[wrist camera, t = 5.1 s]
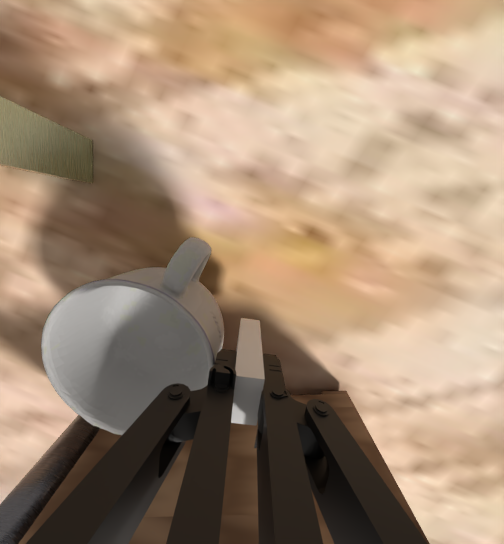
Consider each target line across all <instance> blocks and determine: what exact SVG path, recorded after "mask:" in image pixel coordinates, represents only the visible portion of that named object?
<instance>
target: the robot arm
mask: <svg viewBox="0 0 504 544" xmlns="http://www.w3.org/2000/svg"><path fill="white" fill-rule="evenodd" d="M257 420H258V429H257V434H256V440H255V446H254V448H257V486H258V530H259V544H323V540H322V535H321V531H320V526H319V522H318V517H317V513H316V508H315V504H314V499H313V495H312V492H313V494H314V497H315V499H316V501H317V504H318V506H319V509H320V511H321V513H322V516H323V518H324V520H325V523H326V525H327V528H328V530H329V532H330V535H331V537H332V539H333V542H334V544H428V543H427V542H426V540H425V539H424V538H423V536H422V535H421V533H420V532H419V530H418V529H417V528H416V526H415V525H414V523H413V522H412V520H411V519H410V518H409V516H408V515H407V513H406V512H405V510H404V509H403V508H402V506H401V505H400V503H399V502H398V501H397V499H396V498H395V496H394V495H393V493H392V492H391V491H390V489H389V488H388V486H387V485H386V483H385V482H384V481H383V479H382V478H381V476H380V475H379V473H378V472H377V471H376V469H375V468H374V466H373V465H372V463H371V462H370V461H369V459H368V458H367V456H366V455H365V454H364V452H363V451H362V449H361V448H360V446H359V445H358V444H357V442H356V441H355V439H354V438H353V436H352V435H351V434H350V432H349V431H348V429H347V428H346V426H345V425H344V424H343V422H342V421H341V419H340V418H339V416H338V415H337V414H336V412H335V411H334V409H333V408H332V407H331V406H330V405H329V404H328V403H326V402H324V401H322V400H319V399H312V400H309V401H308V402H307V405H306V404H303V403H301V402H298V401H296V400H294V399H293V398H291V395H290V393H289V391H288V390H287V389H286V388H285V384H284V379H283V374H282V369H281V364H280V360H279V359H278V358H277V356H276V355H268V354H263V353H262V341H261V329H260V320H253V319H246V318H241V321H240V328H239V335H238V342H237V349H236V351H232V350H224V349H221V350H220V351H219V352H218V353H217V355H216V360H215V363H214V366H213V367H211V369H210V370H209V376H208V385H207V386H206V387H204V388H202V389H199V390H194V391H190V389H189V387H188V386H186V385H184V384H179V383H176V384H171V385H169V386H167V387H165V388H164V389H163V390H162V391H161V392H160V393H159V395H158V396H157V397H156V398H155V399H154V400H153V401H152V402H151V403H150V405H149V406H148V407H147V408H146V409H145V410H144V411H143V412H142V414H141V415H140V416H139V417H138V418H137V419H136V420H135V421H134V423H133V424H132V425H131V426H130V427H129V428H128V429H127V430H126V432H125V433H124V434H123V435H122V436H121V437H120V438H119V439H118V440H117V442H116V443H115V444H114V445H113V446H112V447H111V448H110V449H109V451H108V452H107V453H106V454H105V455H104V456H103V457H102V458H101V460H100V461H99V462H98V463H97V464H96V465H95V466H94V467H93V469H92V470H91V471H90V472H89V473H88V474H87V475H86V476H85V477H84V479H83V480H82V481H81V482H80V483H79V484H78V485H77V486H76V488H75V489H74V490H73V491H72V492H71V493H70V494H69V495H68V497H67V498H66V499H65V500H64V501H63V502H62V503H61V504H60V506H59V507H58V508H57V509H56V510H55V511H54V512H53V513H52V515H51V516H50V517H49V518H48V519H47V520H46V521H45V522H44V523H43V525H42V526H41V527H40V528H39V529H38V530H37V531H36V532H35V534H34V535H33V536H32V537H31V538H30V539H29V540H28V541H27V543H26V544H128V543H129V542H130V540H131V538H132V536H133V535H134V533H135V531H136V529H137V528H138V526H139V524H140V522H141V520H142V519H143V517H144V515H145V513H146V512H147V510H148V508H149V506H150V505H151V503H152V501H153V499H154V498H155V496H156V494H157V492H158V491H159V489H160V487H161V485H162V483H163V482H164V480H165V478H166V476H167V475H168V473H169V471H170V469H171V468H172V466H173V464H174V462H175V461H176V459H177V457H178V455H179V454H180V452H181V450H182V448H183V446H184V445H185V442H186V441H188V440H193V443H192V446H191V450H190V454H189V458H188V462H187V466H186V469H185V473H184V477H183V481H182V485H181V488H180V492H179V496H178V500H177V504H176V508H175V511H174V515H173V519H172V523H171V527H170V530H169V534H168V538H167V542H166V544H219V537H220V527H221V517H222V507H223V497H224V487H225V477H226V467H227V457H228V447H229V437H230V427H231V423H237V424H246V425H255V426H256V425H257Z"/></svg>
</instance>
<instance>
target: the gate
mask: <svg viewBox="0 0 504 544" xmlns="http://www.w3.org/2000/svg"><path fill="white" fill-rule="evenodd" d="M291 398H293V399H294V400H296V401H298V402H301V403H303V404H306V405H307V402H308V401H309V400H312V399H319V400H322V401H324V402H326V403H328V404H329V405H330V406H331V407H332V408H333V409H334V411H335V412H336V414H337V415H338V416H339V418H340V419H341V421H342V422H343V424H344V425H345V426H346V428H347V429H348V431H349V432H350V434H351V435H352V436H353V438H354V439H355V441H356V442H357V444H358V445H359V446H360V448H361V449H362V451H363V452H364V454H365V455H366V456H367V458H368V459H369V461H370V462H371V463H372V465H373V466H374V468H375V469H376V471H377V472H378V473H379V475H380V476H381V478H382V479H383V481H384V482H385V483H386V485H387V486H388V488H389V489H390V491H391V492H392V493H393V495H394V496H395V498H396V499H397V501H398V502H399V503H400V505H401V506H402V508H403V509H404V510H405V512H406V513H407V515H408V516H409V518H410V519H411V520H412V522H413V523H414V525H415V526H416V528H417V529H418V530H419V532H420V533H421V535H422V536H423V538H424V539H425V540H426V542H427V543H428V544H429V542H428V540H427V538H426V536H425V534H424V533H423V531H422V529H421V527H420V525H419V523H418V522H417V520H416V518H415V516H414V514H413V512H412V511H411V509H410V507H409V505H408V503H407V501H406V500H405V498H404V496H403V494H402V492H401V490H400V489H399V487H398V485H397V483H396V481H395V479H394V478H393V476H392V474H391V472H390V470H389V468H388V467H387V465H386V463H385V461H384V459H383V457H382V456H381V454H380V452H379V450H378V448H377V446H376V445H375V443H374V441H373V439H372V437H371V435H370V434H369V432H368V430H367V428H366V426H365V424H364V423H363V421H362V419H361V417H360V415H359V413H358V412H357V410H356V408H355V406H354V404H353V402H352V401H351V399H350V397H349V395H348V393H347V391H322V394H321V395H291ZM257 429H258V420H257V425H256V426H255V425H246V424H237V423H231V427H230V437H229V447H228V457H227V467H226V477H225V487H224V497H223V507H222V517H221V527H220V537H219V544H259V530H258V486H257V448H254V446H255V440H256V434H257ZM121 436H122V435H118V434H114V433H111V432H109V431H107V430H104V429H102V428H101V429H100V430H99V432H98V433H97V434H96V436H95V437H94V439H93V440H92V441H91V443H90V444H89V446H88V447H87V448H86V450H85V451H84V453H83V454H82V455H81V457H80V458H79V460H78V461H77V462H76V464H75V465H74V467H73V468H72V469H71V471H70V472H69V474H68V475H67V476H66V478H65V479H64V481H63V482H62V483H61V485H60V486H59V488H58V489H57V490H56V492H55V493H54V495H53V496H52V497H51V499H50V500H49V502H48V503H47V504H46V506H45V507H44V509H43V510H42V511H41V513H40V514H39V516H38V517H37V518H36V520H35V521H34V523H33V524H32V526H31V527H30V528H29V530H28V531H27V533H26V534H25V535H24V537H23V538H22V540H21V541H20V542H19V544H26V543H27V541H28V540H29V539H30V538H31V537H32V536H33V535H34V534H35V532H36V531H37V530H38V529H39V528H40V527H41V526H42V525H43V523H44V522H45V521H46V520H47V519H48V518H49V517H50V516H51V515H52V513H53V512H54V511H55V510H56V509H57V508H58V507H59V506H60V504H61V503H62V502H63V501H64V500H65V499H66V498H67V497H68V495H69V494H70V493H71V492H72V491H73V490H74V489H75V488H76V486H77V485H78V484H79V483H80V482H81V481H82V480H83V479H84V477H85V476H86V475H87V474H88V473H89V472H90V471H91V470H92V469H93V467H94V466H95V465H96V464H97V463H98V462H99V461H100V460H101V458H102V457H103V456H104V455H105V454H106V453H107V452H108V451H109V449H110V448H111V447H112V446H113V445H114V444H115V443H116V442H117V440H118V439H119V438H120V437H121ZM192 443H193V440H188V441H186V442H185V445H184V446H183V448H182V450H181V452H180V454H179V455H178V457H177V459H176V461H175V462H174V464H173V466H172V468H171V469H170V471H169V473H168V475H167V476H166V478H165V480H164V482H163V483H162V485H161V487H160V489H159V491H158V492H157V494H156V496H155V498H154V499H153V501H152V503H151V505H150V506H149V508H148V510H147V512H146V513H145V515H144V517H143V519H142V520H141V522H140V524H139V526H138V528H137V529H136V531H135V533H134V535H133V536H132V538H131V540H130V542H129V543H128V544H166V542H167V538H168V534H169V530H170V527H171V523H172V519H173V515H174V511H175V508H176V504H177V500H178V496H179V492H180V488H181V485H182V481H183V477H184V473H185V469H186V466H187V462H188V458H189V454H190V450H191V446H192ZM312 495H313V499H314V504H315V508H316V513H317V517H318V522H319V526H320V531H321V535H322V540H323V544H334V542H333V539H332V537H331V535H330V532H329V530H328V528H327V525H326V523H325V520H324V518H323V516H322V513H321V511H320V509H319V506H318V504H317V501H316V499H315V497H314V494H313V492H312Z"/></svg>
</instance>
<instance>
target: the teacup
mask: <svg viewBox="0 0 504 544" xmlns="http://www.w3.org/2000/svg"><path fill="white" fill-rule="evenodd" d="M210 255H211V247H210V246H209V245H208V244H207V243H206V242H205V241H203V240H201V239H199V238H195V237H191V238H188V239H187V240H185V241H184V243H183V244H182V245H181V246H180V247H179V248H178V250H177V251H176V253H175V254H174V255H173V257H172V258H171V260H170V262H169V264H168V266H167V268H163V267H149V268H141V269H137V270H133V271H129V272H126V273H122V274H119V275H116V276H113V277H110V278H108V279H103V280H97V281H92V282H90V283H87V284H84V285H82V286H80V287H78V288H76V289H74V290H72V291H71V292H69V293H68V294H67V295H66V296H65V297H63V298H62V299H61V300H60V301H59V302H58V303H57V304H56V305H55V306H54V308H53V309H52V311H51V312H50V314H49V316H48V318H47V320H46V322H45V325H44V328H43V333H42V341H41V350H42V360H43V364H44V367H45V371H46V373H47V376H48V378H49V380H50V382H51V384H52V386H53V387H54V389H55V391H56V392H57V393H58V395H59V396H60V397H61V398H62V400H63V401H64V402H65V403H66V404H67V405H68V406H69V407H70V408H72V410H73V411H74V412H75V413H77V414H78V415H80V416H81V417H83V418H84V419H85V420H86V421H87V422H89V423H90V424H91V425H93V426H97V427H99V428H102V429H104V430H107V431H109V432H111V433H114V434H118V435H123V434H124V433H125V432H126V430H127V429H128V428H129V427H130V426H131V425H132V424H133V423H134V421H135V420H136V419H137V418H138V417H139V416H140V415H141V414H142V412H143V411H144V410H145V409H146V408H147V407H148V406H149V405H150V403H151V402H152V401H153V400H154V399H155V398H156V397H157V396H158V395H159V393H160V392H161V391H162V390H163V389H164V388H165V387H167V386H169V385H171V384H176V383H179V384H184V385H186V386H188V387H189V389H190V391H194V390H199V389H202V388H204V387H206V386H207V385H208V376H209V370H210V369H211V367H213V366H214V363H215V360H216V355H217V353H218V352H219V351H220V350H221V349H222V346H223V340H224V324H223V318H222V314H221V310H220V308H219V306H218V304H217V302H216V300H215V298H214V297H213V295H212V294H211V293H210V291H209V290H208V289H207V288H206V287H205V286H204V285H203V284H201V283H200V282H199V278H200V276H201V273H202V271H203V269H204V267H205V265H206V263H207V261H208V259H209V257H210Z"/></svg>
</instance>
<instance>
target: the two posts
mask: <svg viewBox="0 0 504 544" xmlns="http://www.w3.org/2000/svg"><path fill="white" fill-rule="evenodd" d="M0 166H5V167H10V168H15V169H20V170H25V171H29V172H34V173H39V174H44V175H49V176H54V177H59V178H63V179H68V180H75V181H81V182H88V183H93V150H92V140H90V139H88V138H86V137H84V136H82V135H80V134H78V133H76V132H74V131H72V130H70V129H68V128H65V127H63V126H61V125H59V124H57V123H55V122H53V121H51V120H49V119H47V118H45V117H43V116H41V115H38V114H36V113H34V112H32V111H30V110H28V109H26V108H24V107H22V106H20V105H18V104H16V103H14V102H11V101H9V100H7V99H5V98H3V97H1V96H0ZM100 429H101V428H99V427H97V426H93V425H91V424H90V423H89V422H87V421H86V420H85V419H84V418H83V417H81V416H80V415H78V416H77V417H76V418H75V420H74V421H73V422H72V423H71V424H70V425H69V426H68V428H67V429H66V430H65V431H64V432H63V433H62V434H61V436H60V437H59V438H58V439H57V440H56V441H55V442H54V444H53V445H52V446H51V447H50V448H49V449H48V450H47V452H46V453H45V454H44V455H43V456H42V457H41V458H40V460H39V461H38V462H37V463H36V464H35V465H34V466H33V468H32V469H31V470H30V471H29V472H28V473H27V474H26V476H25V477H24V478H23V479H22V480H21V481H20V482H19V484H18V485H17V486H16V487H15V488H14V489H13V490H12V492H11V493H10V494H9V495H8V496H7V497H6V498H5V500H4V501H3V502H2V503H1V504H0V544H19V542H20V541H21V540H22V538H23V537H24V535H25V534H26V533H27V531H28V530H29V528H30V527H31V526H32V524H33V523H34V521H35V520H36V518H37V517H38V516H39V514H40V513H41V511H42V510H43V509H44V507H45V506H46V504H47V503H48V502H49V500H50V499H51V497H52V496H53V495H54V493H55V492H56V490H57V489H58V488H59V486H60V485H61V483H62V482H63V481H64V479H65V478H66V476H67V475H68V474H69V472H70V471H71V469H72V468H73V467H74V465H75V464H76V462H77V461H78V460H79V458H80V457H81V455H82V454H83V453H84V451H85V450H86V448H87V447H88V446H89V444H90V443H91V441H92V440H93V439H94V437H95V436H96V434H97V433H98V432H99V430H100Z"/></svg>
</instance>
